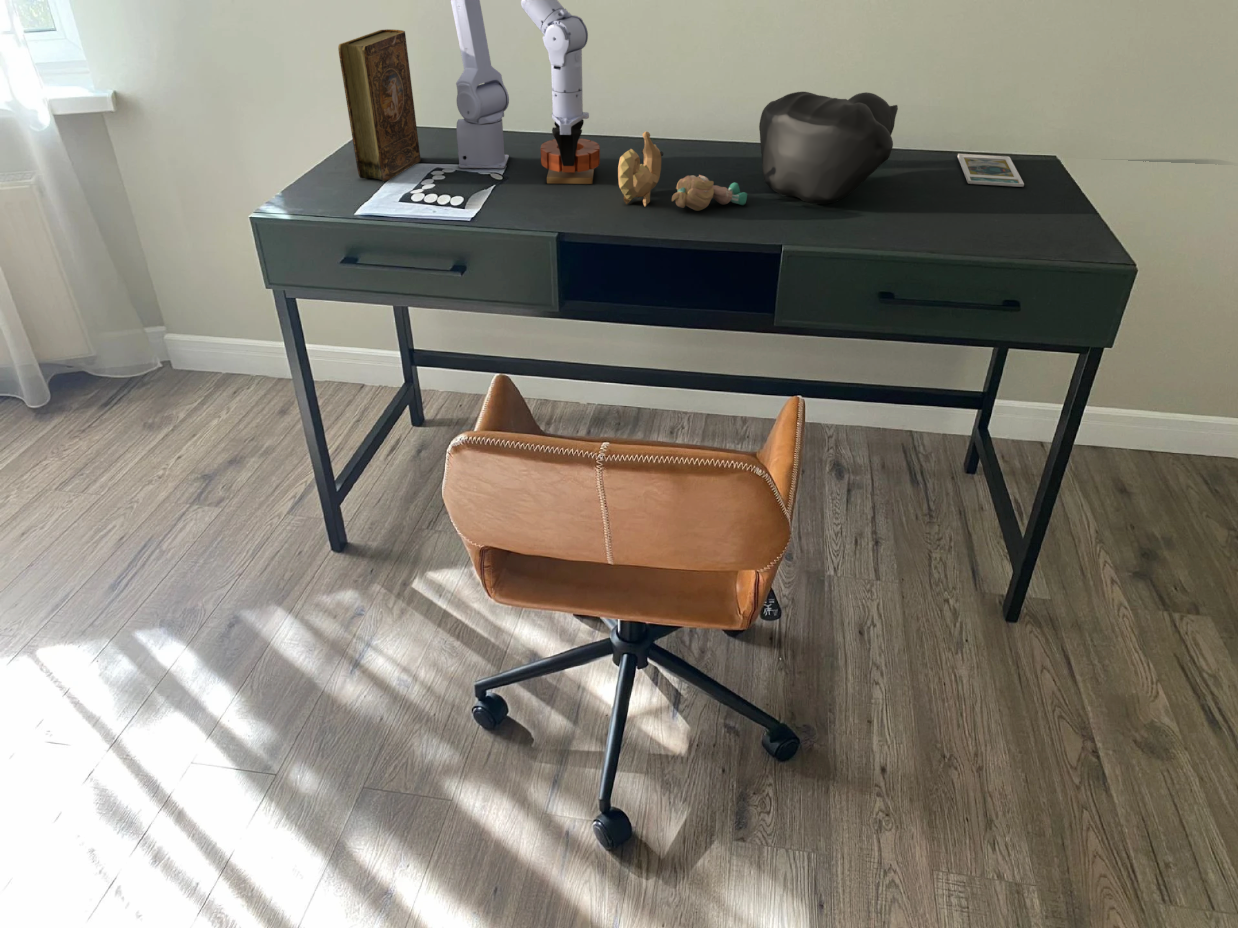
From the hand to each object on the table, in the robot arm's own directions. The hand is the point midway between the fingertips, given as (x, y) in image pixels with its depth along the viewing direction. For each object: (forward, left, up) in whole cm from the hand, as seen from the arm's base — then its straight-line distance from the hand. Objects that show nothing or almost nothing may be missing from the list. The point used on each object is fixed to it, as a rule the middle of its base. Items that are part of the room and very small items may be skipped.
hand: (569, 162), depth 177 cm
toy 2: (+27, -13, -4) cm, 30 cm away
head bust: (+52, 0, -4) cm, 52 cm away
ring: (0, +4, -1) cm, 4 cm away
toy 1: (+14, -10, -4) cm, 18 cm away
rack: (0, +4, -4) cm, 6 cm away
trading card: (+86, +10, -4) cm, 87 cm away
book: (-37, +7, -4) cm, 38 cm away
